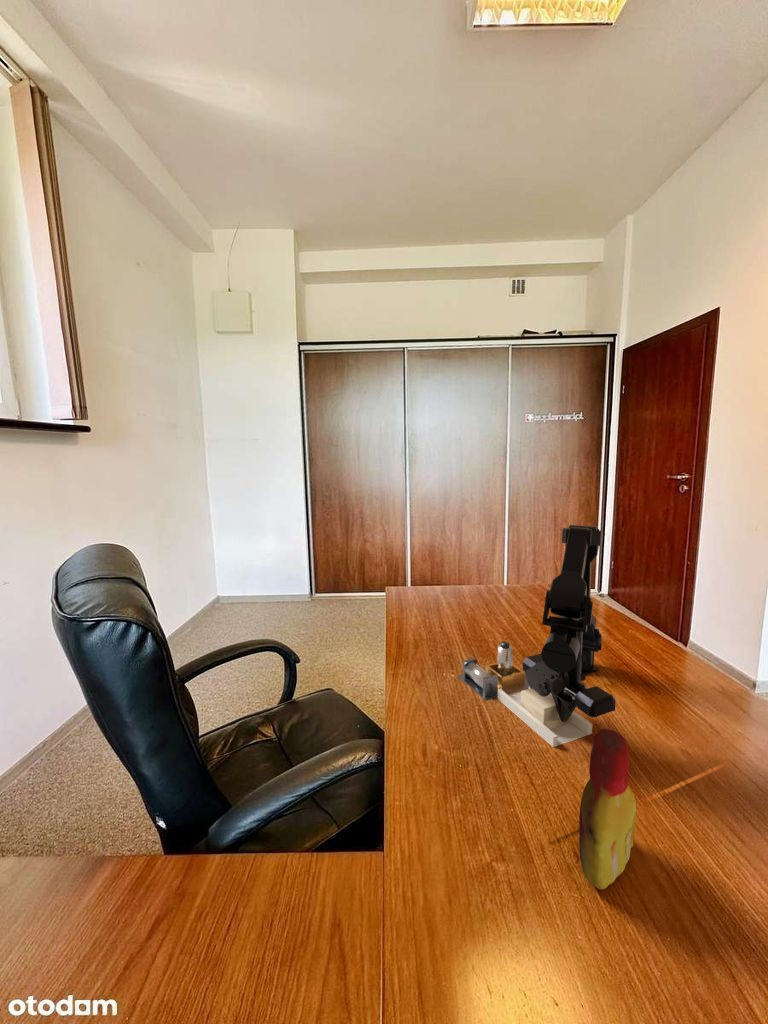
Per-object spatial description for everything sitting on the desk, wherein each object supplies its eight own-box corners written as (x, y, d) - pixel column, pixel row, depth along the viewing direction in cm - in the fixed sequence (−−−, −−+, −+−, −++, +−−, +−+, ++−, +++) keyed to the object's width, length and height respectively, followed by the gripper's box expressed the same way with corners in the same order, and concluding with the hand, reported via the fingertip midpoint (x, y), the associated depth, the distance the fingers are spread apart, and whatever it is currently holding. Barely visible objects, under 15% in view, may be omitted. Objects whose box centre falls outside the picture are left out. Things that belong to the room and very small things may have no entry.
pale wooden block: (543, 703, 93) (544, 682, 93) (569, 722, 86) (570, 700, 86) (518, 710, 91) (519, 689, 90) (543, 731, 84) (543, 708, 83)
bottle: (614, 914, 51) (622, 768, 48) (562, 877, 55) (567, 742, 53) (641, 848, 59) (649, 721, 56) (594, 821, 64) (599, 702, 61)
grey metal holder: (508, 664, 112) (509, 647, 111) (540, 686, 101) (540, 668, 100) (458, 676, 106) (458, 659, 105) (485, 702, 95) (485, 682, 94)
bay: (531, 690, 99) (532, 680, 99) (591, 735, 83) (592, 724, 82) (497, 700, 95) (497, 690, 95) (553, 749, 79) (553, 737, 79)
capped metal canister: (505, 672, 106) (505, 638, 105) (515, 679, 103) (515, 644, 101) (494, 676, 105) (494, 641, 103) (503, 683, 101) (504, 648, 100)
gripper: (502, 637, 87) (502, 705, 89) (572, 681, 70) (569, 764, 72) (544, 627, 91) (542, 693, 93) (619, 667, 74) (615, 746, 76)
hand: (563, 720), depth 83 cm, fingers closed
